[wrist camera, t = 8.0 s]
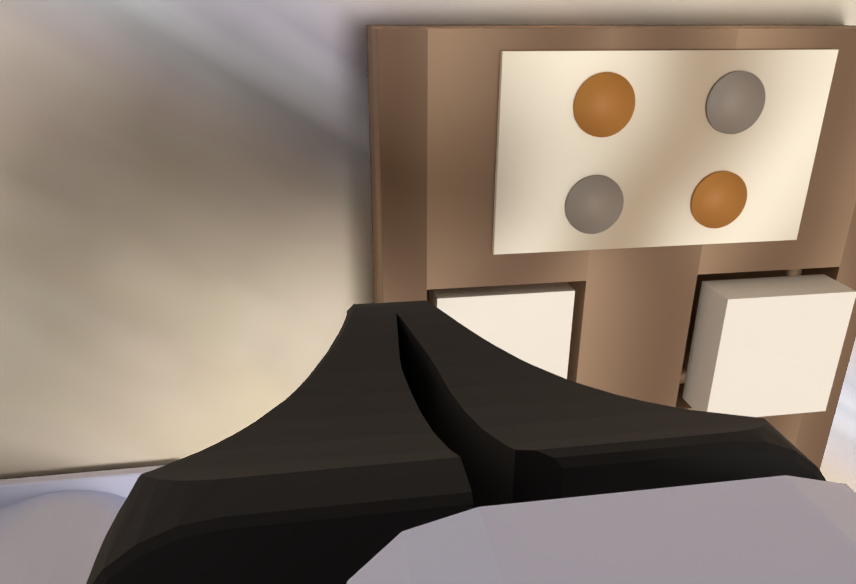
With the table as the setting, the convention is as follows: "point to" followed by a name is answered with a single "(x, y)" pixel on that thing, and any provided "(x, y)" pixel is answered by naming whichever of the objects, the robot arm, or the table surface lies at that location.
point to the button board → (616, 177)
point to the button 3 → (517, 319)
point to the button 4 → (767, 344)
